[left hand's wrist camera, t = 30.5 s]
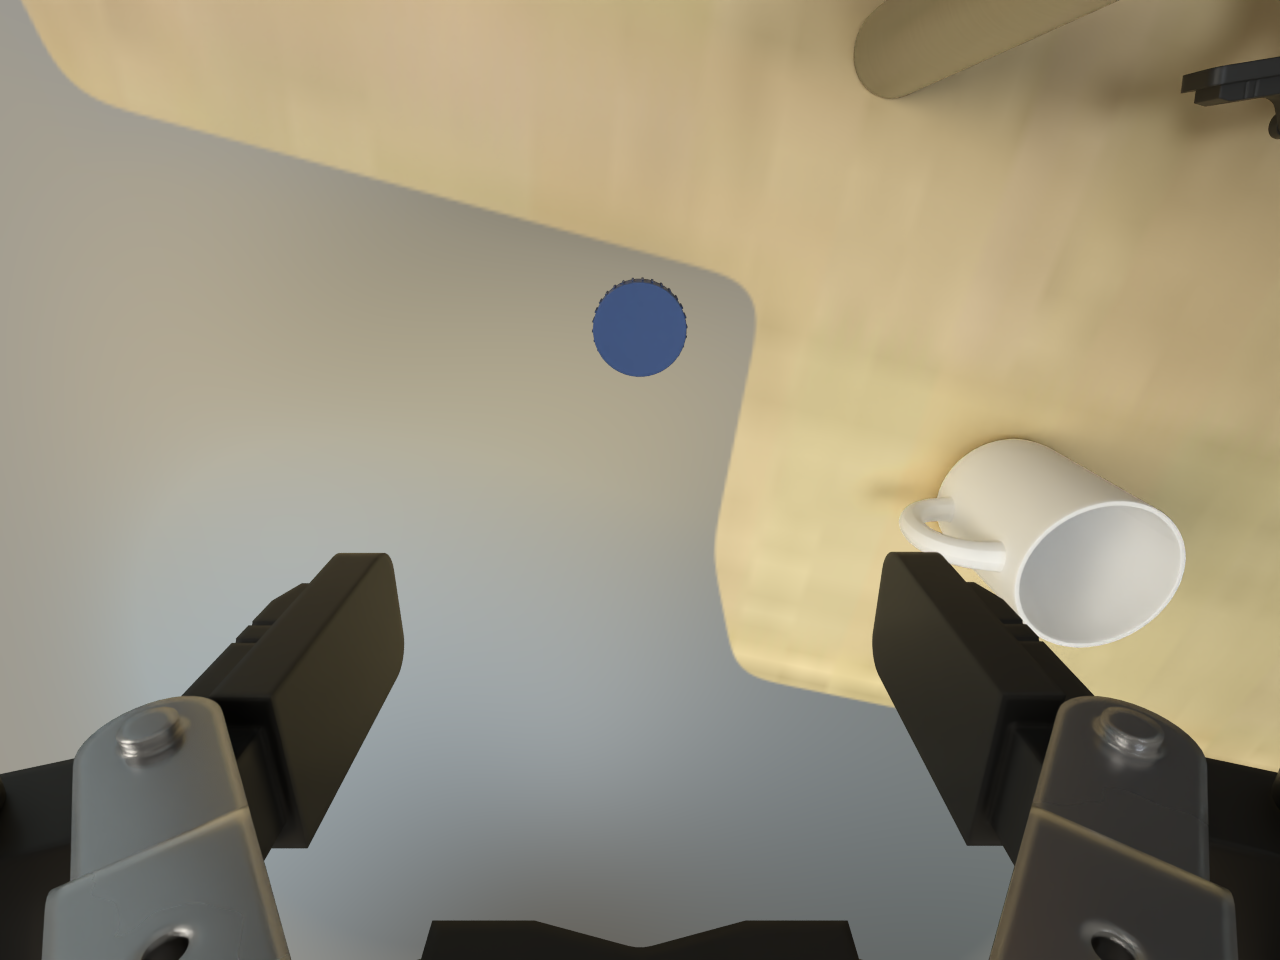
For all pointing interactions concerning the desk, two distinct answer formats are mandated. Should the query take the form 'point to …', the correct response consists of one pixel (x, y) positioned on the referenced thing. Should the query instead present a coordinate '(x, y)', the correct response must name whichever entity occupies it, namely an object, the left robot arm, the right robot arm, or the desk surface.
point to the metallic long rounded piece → (949, 37)
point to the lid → (639, 327)
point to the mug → (1053, 542)
